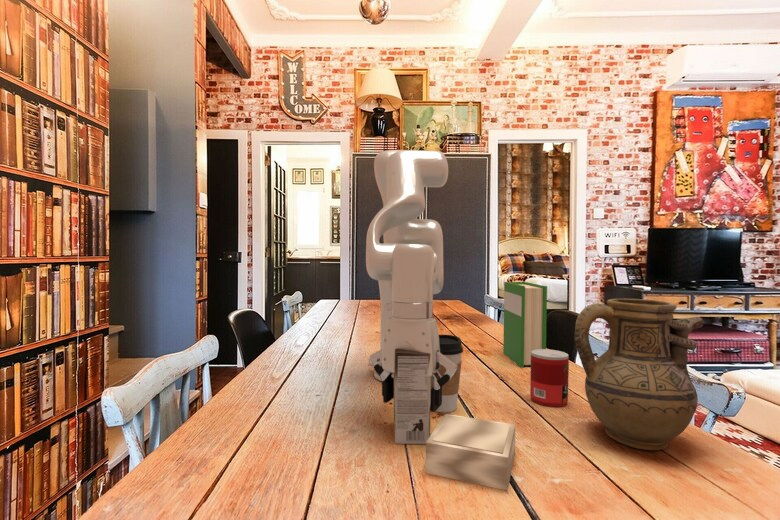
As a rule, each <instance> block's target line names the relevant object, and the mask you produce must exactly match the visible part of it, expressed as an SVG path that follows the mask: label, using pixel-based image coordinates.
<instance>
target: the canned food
mask: <svg viewBox="0 0 780 520" xmlns="http://www.w3.org/2000/svg"><path fill="white" fill-rule="evenodd" d="M569 359H570V357H569V354H568V353H566V352H565V351H561V350H555V349H549V348H548V349H547V348H546V349H537V350H533V351H531V365H530V392H529V393H530V399H531V401H532V402H534V403H536V404H537V405H541V406H544V407H550V408H551V407H552V408H560V407H561V408H562V407H565V406H566V405H567V404H568V402H569V374H570V373H569V370H570V361H569Z"/></svg>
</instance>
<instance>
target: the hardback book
mask: <svg viewBox="0 0 780 520" xmlns="http://www.w3.org/2000/svg"><path fill="white" fill-rule="evenodd" d="M503 286H504V288H503V289H504V290H503V291H504V292H503V345H502V346H503V348H502V349H503V354H504V355H505V357H507V356H508V357H509V358H508V357H507V358H508V359H509V360H511V361H512V362H513V363H514V362H515V363H516V364H515V363H514V364H515V365H517V366H518V367H519V368H520V369H523V368H525V367H524V366H531V351H533V350H537V349H547V313H548V312H547V307H548V306H547V305H548V286H547V285H541V284H537V283H533V282H528V281H504V285H503Z"/></svg>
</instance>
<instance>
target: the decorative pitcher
mask: <svg viewBox="0 0 780 520" xmlns="http://www.w3.org/2000/svg"><path fill="white" fill-rule="evenodd" d="M606 303H607V305H606V304H603V303H593V304H589V305H587V306H586V307H584V308H583V309H582V310H581V311H580V312H579V314H578V315H577V318H576V321H575V326H574V328H575V329H574V342H575V346H576V347H575V348H576V350H577V354H578V358H580V359H579V360H580V363H581V365H582V369H583V370H584V372H585V375H586V376H585V379H584V391H585V395H586V399H587V402H588V404H589V407H590V408H591V411H592V412H593V413H594V416H596V418H597V419H598V420H599V422H600V423H601V424H602V425H603V426H605V429H604V430H605V433H606V435H607V436H608V437H609V438H610V439H612V440H613V441H616V442H618V443H620V444H622V445H624V446H627V447H629V448H634V449H636V450H637V449H638V450H641V451H660V450H661V451H662V450H663V449H666V448H667V447H668V445H669V441H670V440H673V439H675V438H677V437H678V436H680V435H681V434H682V433H683V432H684V431H686V429H687V428H688V426H689V425H690V423H691V421H693V420H692V419H693V417H694V415H695V413H696V411H697V408H698V407H697V406H698V400H699V399H698V393H697V390H696V387H695V386H694V384H693V382H692V380H691V377H690V373H689V370H688V366H687V365H688V364H687V363H688V358H689V357H688V351H694V350H697V348H698V344H697V342H696V341H695V340H694V339H692V338H689V334H690V333H692V331H693V330H695V329H699V328H702V327H703V326H704V325H705V321H704V320H703V318H702V317H700V316H694V317H685V318H681V319H679V318H678V319H674V314H673V313H674V311H675V310H676V309H677V304H676V303H673V302H669V301H664V300H663V301H662V300H655V299H645V298H644V299H642V298H641V299H640V298H611V299H608V300H607V301H606ZM597 319H602V320H604V321H605V323H607V324H608V325H609V327H610V328H609V335H608V338H609V339H608V341H609V342H608V348H607V350H606V351H605V352H603V353H602V354H601V355H599V356H598V357H597V359H595V356H594V353H593V349H592V347H591V343H590V338H589V337H590V329H591V326H592V324H593V323H594V321H595V320H597Z"/></svg>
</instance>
